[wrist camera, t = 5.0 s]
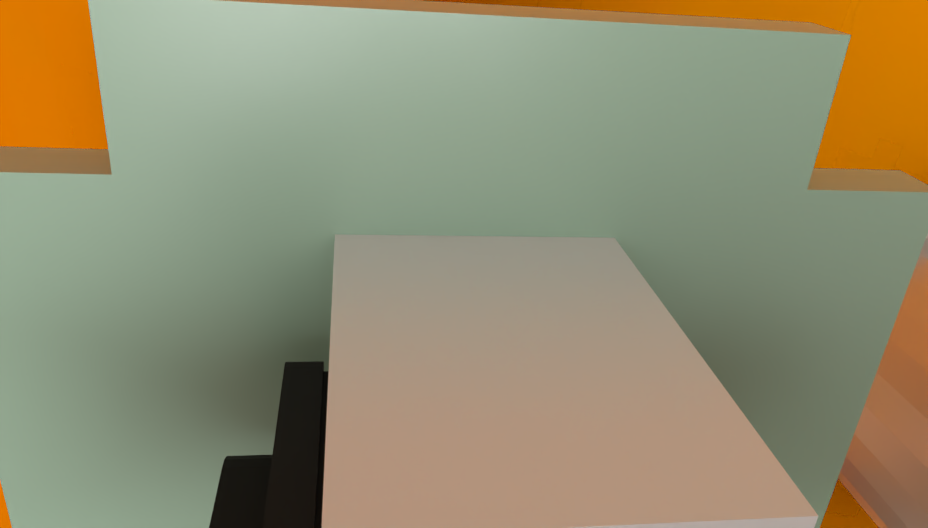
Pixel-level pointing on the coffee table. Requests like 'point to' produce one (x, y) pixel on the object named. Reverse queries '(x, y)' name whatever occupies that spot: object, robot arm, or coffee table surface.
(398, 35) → the circuit board
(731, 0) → the coffee table surface
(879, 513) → the robot arm
